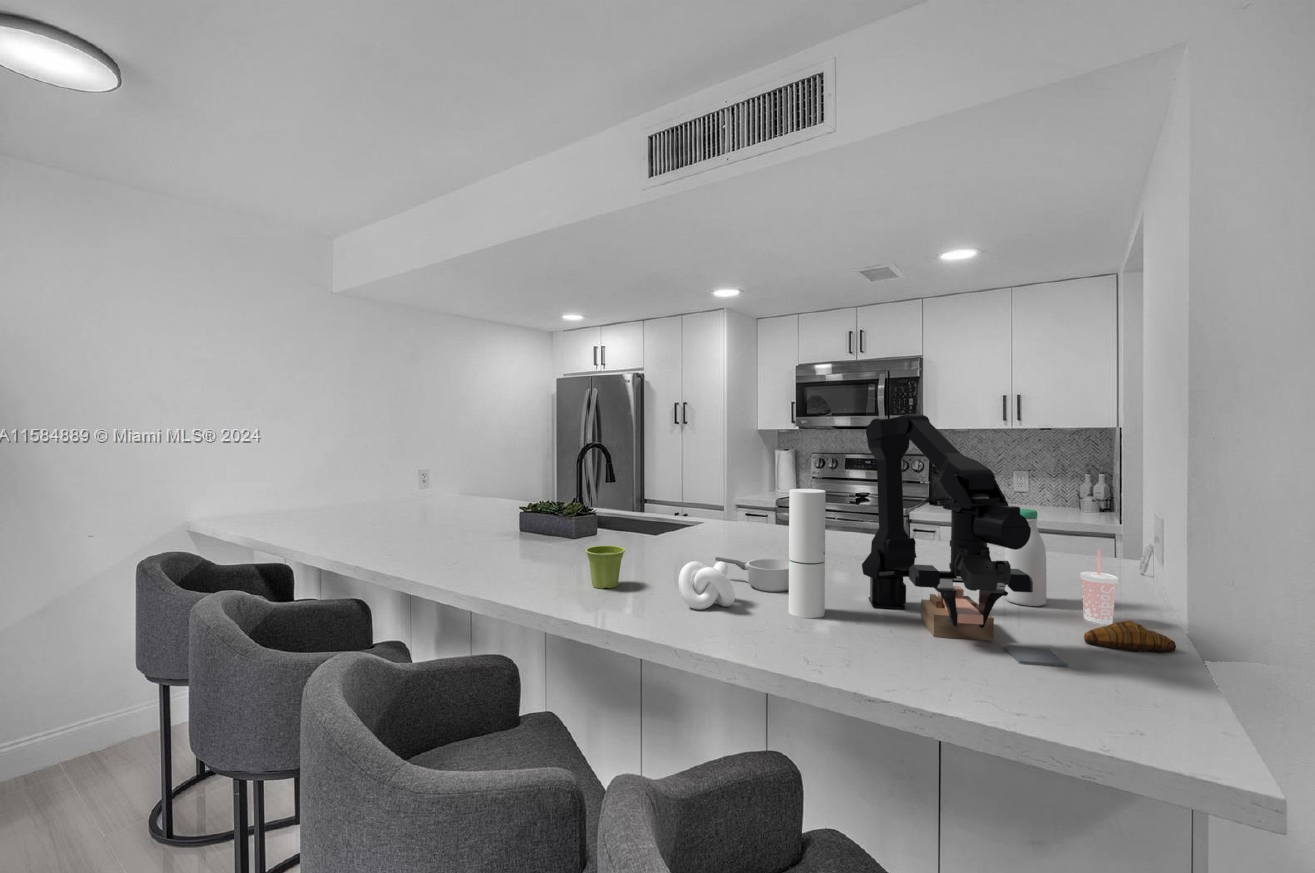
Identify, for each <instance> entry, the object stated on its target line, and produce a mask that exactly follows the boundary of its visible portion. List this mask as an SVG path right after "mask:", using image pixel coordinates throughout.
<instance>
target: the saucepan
mask: <svg viewBox="0 0 1315 873" xmlns="http://www.w3.org/2000/svg"><path fill="white" fill-rule="evenodd" d="M715 561H716V562H720V561H723V562H725V563H726V564H733V565H735V566H737V567H739V568H740V569H741V570H743V571H748V576H747V577H748V582H747V583H748V585H750V586H751V587H753V588H754V589H756V590H758V591H763V592H769V593H771V592H772V593H776V592H777V593H779V592H786V591H789V560H785V559H779V558H778V559H777V558H758V559H756V558H755V559H751V560H749V561H747V562H745V561H744V562H742V561H741V560H737V559H732V558H726V557H725V558H724V557H719V556H717V557H715Z"/></svg>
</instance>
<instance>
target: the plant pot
mask: <svg viewBox="0 0 1315 873" xmlns="http://www.w3.org/2000/svg"><path fill="white" fill-rule="evenodd" d="M625 552H626V548H625V547H622V546H617V545H594V546H589V547H587V548H586V549H585V553H587V554H586V556H587V559H588V561H589V570H590V578H591V585H592V587H594V588H596V589H602V590H603V589H605V588H608V589H614V588H616V587H618V585H619V580H620V573H621V572H620V571H621V565H622V564H621V563H622V559H623V556H624V553H625Z"/></svg>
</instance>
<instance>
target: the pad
mask: <svg viewBox="0 0 1315 873" xmlns="http://www.w3.org/2000/svg"><path fill="white" fill-rule="evenodd" d="M1004 648H1005V649H1006V650H1007V651H1009V653H1008V654H1009V655H1011V657H1013V659H1014V660H1015V661H1017V663H1019V664H1020V663H1024V665H1034V664H1038V665H1039V664H1040V665H1039V666H1049V665H1058V666H1057V667H1063V666H1068V665H1069V664H1068V663H1067V662H1065V661H1064V660H1063V659H1062V658H1061V657H1060V656H1059V655H1057V654H1056V653H1054V652H1053V651H1052V650H1051V649H1050V648H1047V647H1034V646H1033V647H1032V646H1031V647H1029V646H1018V645H1017V646H1016V645H1003V649H1004ZM1005 649H1004V650H1005ZM1006 650H1005V651H1006ZM1007 651H1006V652H1007ZM1025 663H1026V664H1025Z"/></svg>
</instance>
